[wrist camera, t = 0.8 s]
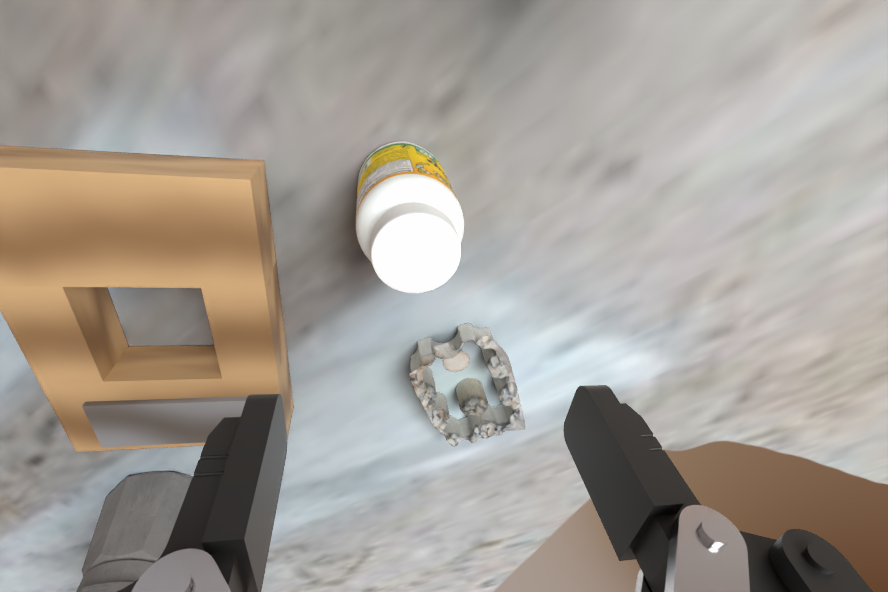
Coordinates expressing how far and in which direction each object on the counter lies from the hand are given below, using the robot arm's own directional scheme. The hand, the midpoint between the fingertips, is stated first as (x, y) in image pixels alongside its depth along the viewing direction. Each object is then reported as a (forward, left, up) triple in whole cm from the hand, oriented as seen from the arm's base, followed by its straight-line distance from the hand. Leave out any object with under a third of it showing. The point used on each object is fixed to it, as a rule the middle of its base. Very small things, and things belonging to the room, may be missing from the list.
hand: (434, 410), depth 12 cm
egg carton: (+16, +6, -19) cm, 25 cm away
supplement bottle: (0, 0, -19) cm, 19 cm away
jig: (+9, -15, -18) cm, 25 cm away
